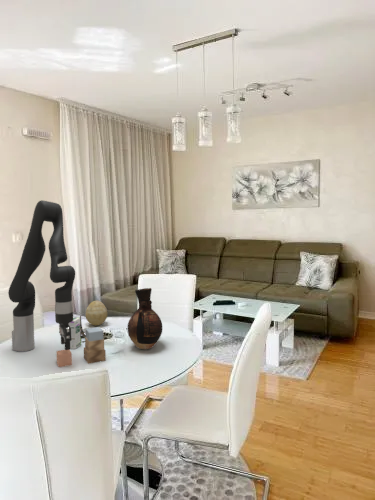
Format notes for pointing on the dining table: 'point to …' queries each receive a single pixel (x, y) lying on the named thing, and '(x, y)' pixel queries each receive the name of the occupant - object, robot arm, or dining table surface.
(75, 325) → the syrup box
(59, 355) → the cube
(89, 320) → the fossilized egg
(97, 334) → the tower top
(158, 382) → the dining table surface
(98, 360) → the tower base
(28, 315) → the robot arm
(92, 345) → the tower mid
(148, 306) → the ceramic vessel
